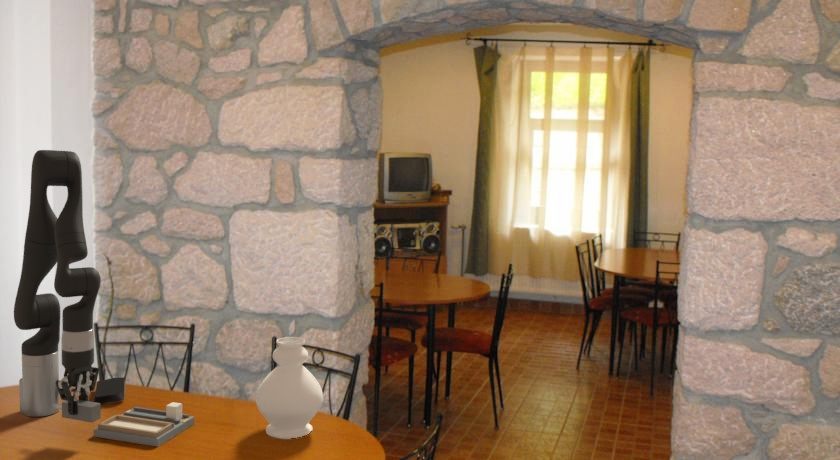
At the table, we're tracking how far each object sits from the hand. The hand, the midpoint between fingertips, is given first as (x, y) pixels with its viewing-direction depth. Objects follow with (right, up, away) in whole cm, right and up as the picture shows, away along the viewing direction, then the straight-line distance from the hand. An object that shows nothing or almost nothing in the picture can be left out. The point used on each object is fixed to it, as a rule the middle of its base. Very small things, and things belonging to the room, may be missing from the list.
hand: (78, 411), depth 202 cm
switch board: (+14, -7, +10) cm, 18 cm away
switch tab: (+20, -5, +13) cm, 25 cm away
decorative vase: (+51, -8, +14) cm, 54 cm away
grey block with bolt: (-1, -1, 0) cm, 2 cm away
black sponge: (-5, -4, +35) cm, 36 cm away
